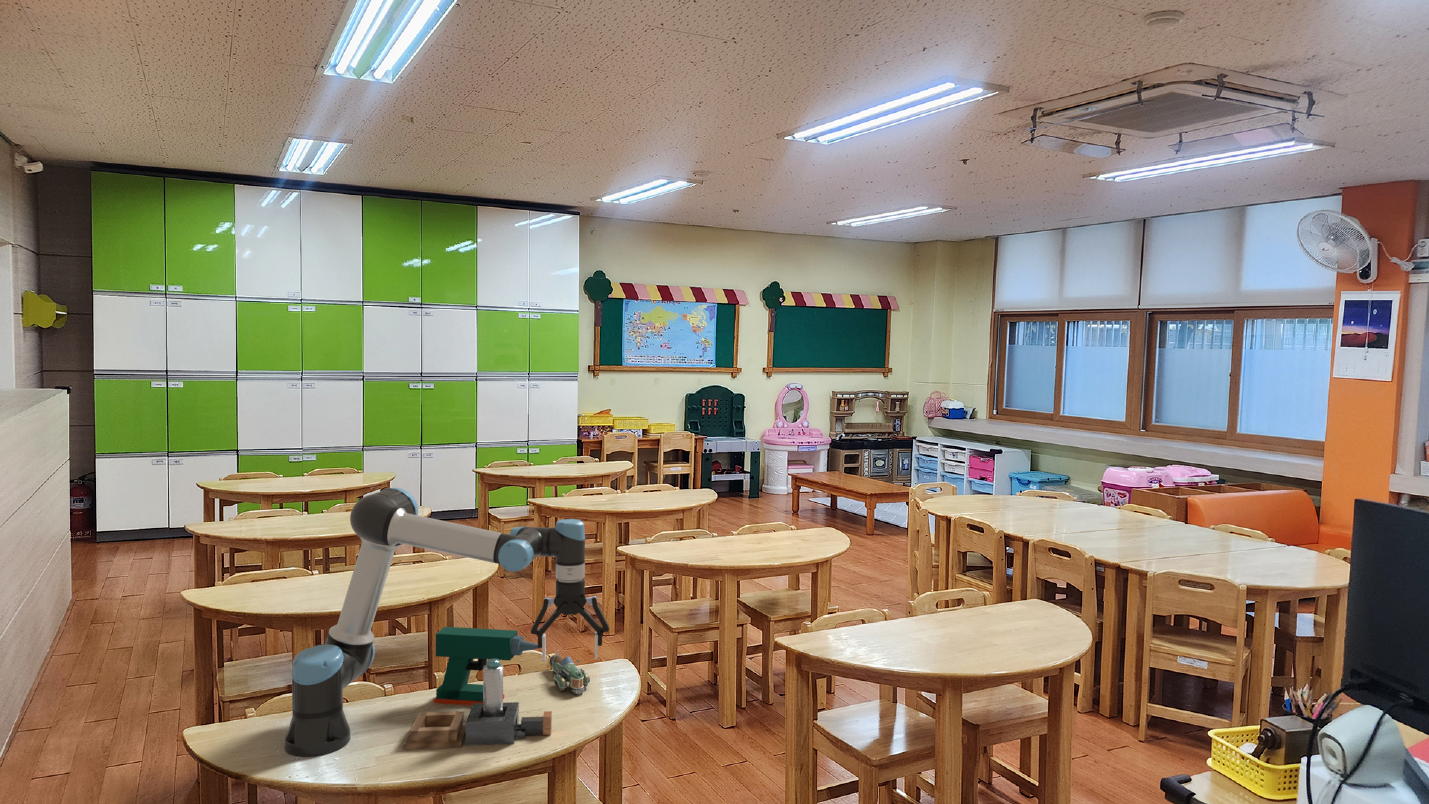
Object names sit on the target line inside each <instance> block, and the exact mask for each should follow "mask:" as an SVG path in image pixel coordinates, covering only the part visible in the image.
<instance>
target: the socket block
mask: <svg viewBox="0 0 1429 804" xmlns="http://www.w3.org/2000/svg"><path fill="white" fill-rule="evenodd" d="M519 713H520V702H519V701H515V702H513V701H511V702H507V701H506V702H503V717H483V703H473V705H471V708H470V710H469V713H468V716H467V718H466V735H465V746H487V745H489V746H490V745H493V746H495V745H514V744H515V741H516V739H525V737H526V735H525V731H521V723H519V721H520V714H519Z"/></svg>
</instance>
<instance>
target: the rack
mask: <svg viewBox="0 0 1429 804" xmlns="http://www.w3.org/2000/svg"><path fill="white" fill-rule="evenodd" d="M466 720H467V719H466ZM466 720H465V711H464V710H463V711H431V712H428V711H427V712H426V711H425V712H424V711H423V712H419V713H418V714H417V717H416V718H415V720H414V721H413V724H412V726H411V728H410V729H409V734H408V736H407V738H406V739H405V742H404V744H403V745H402V746H403V750H418V749H421V750H424V749H425V750H426V749H448V748H449V749H451V748H452V749H453V748H455V749H456V748H462V745H463V742H464V740H465V739H466Z"/></svg>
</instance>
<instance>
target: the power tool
mask: <svg viewBox="0 0 1429 804" xmlns="http://www.w3.org/2000/svg"><path fill="white" fill-rule="evenodd" d="M518 631H519V630H513V629H512V630H511V629H497V628H496V629H493V628H474V627H473V628H472V627H461V626H460V627H456V626H444V627H442V628H441V629H440V630H439V631H438V632H436V633H435V657H441V658H442V657H443V658H448V662H447V665H446V669H445V672H444V677H443V682H442V684H441V685H439V686H438V687H437V688H436V689H435V692H436V693H435V695H436V697H434V698H433V704H441V705H442V704H445V705H446V704H447V705H460V706H461V705H462V706H472V705H473V703H483V684H480V683H479V684H477V683H468V682H469V678H470V675H471V671H478V672H479V671H480V672H481V671H483V667H484V666H485V665H487V660H489V659H499V660H500V661H509V662H510V661H511V660H512V659H513V658H514V657H515V656H522V655H523V652H526V651H533V650H537V649H538V650H539V649H540V648H538V643H533V642H531V641H527V640H525V638H524V636H523V635H518V633H519V632H518ZM474 659H476V660H474ZM504 699H505V694H504V693H503V700H504Z"/></svg>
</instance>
